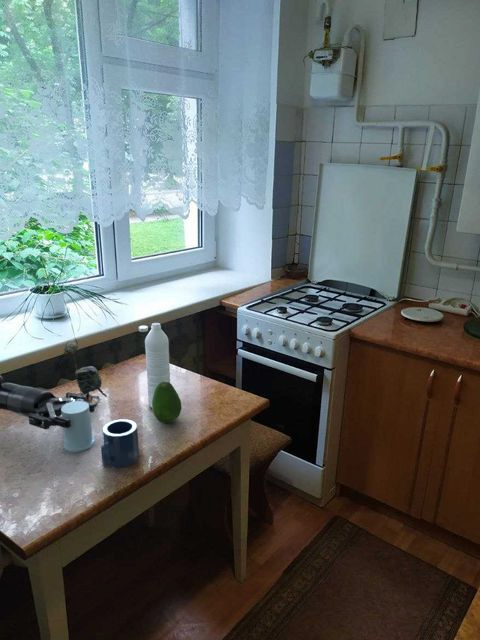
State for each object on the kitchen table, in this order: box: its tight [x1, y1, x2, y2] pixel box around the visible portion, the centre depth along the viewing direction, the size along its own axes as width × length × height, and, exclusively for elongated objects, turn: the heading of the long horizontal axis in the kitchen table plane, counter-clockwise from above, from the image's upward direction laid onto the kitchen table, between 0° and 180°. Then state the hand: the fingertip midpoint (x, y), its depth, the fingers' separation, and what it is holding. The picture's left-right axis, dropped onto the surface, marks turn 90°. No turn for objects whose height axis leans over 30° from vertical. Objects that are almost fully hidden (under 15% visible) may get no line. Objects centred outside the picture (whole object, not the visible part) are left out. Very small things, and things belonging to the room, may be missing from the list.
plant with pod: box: [62, 340, 108, 406], centre depth 141 cm, size 8×11×20 cm
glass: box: [61, 401, 96, 453], centre depth 123 cm, size 7×7×10 cm
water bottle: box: [138, 322, 171, 408], centre depth 140 cm, size 9×6×25 cm
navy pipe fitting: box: [100, 418, 140, 469], centre depth 117 cm, size 11×8×8 cm
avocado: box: [151, 382, 182, 424], centre depth 134 cm, size 8×8×12 cm
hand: (82, 415), depth 121 cm, fingers open, 8 cm apart
